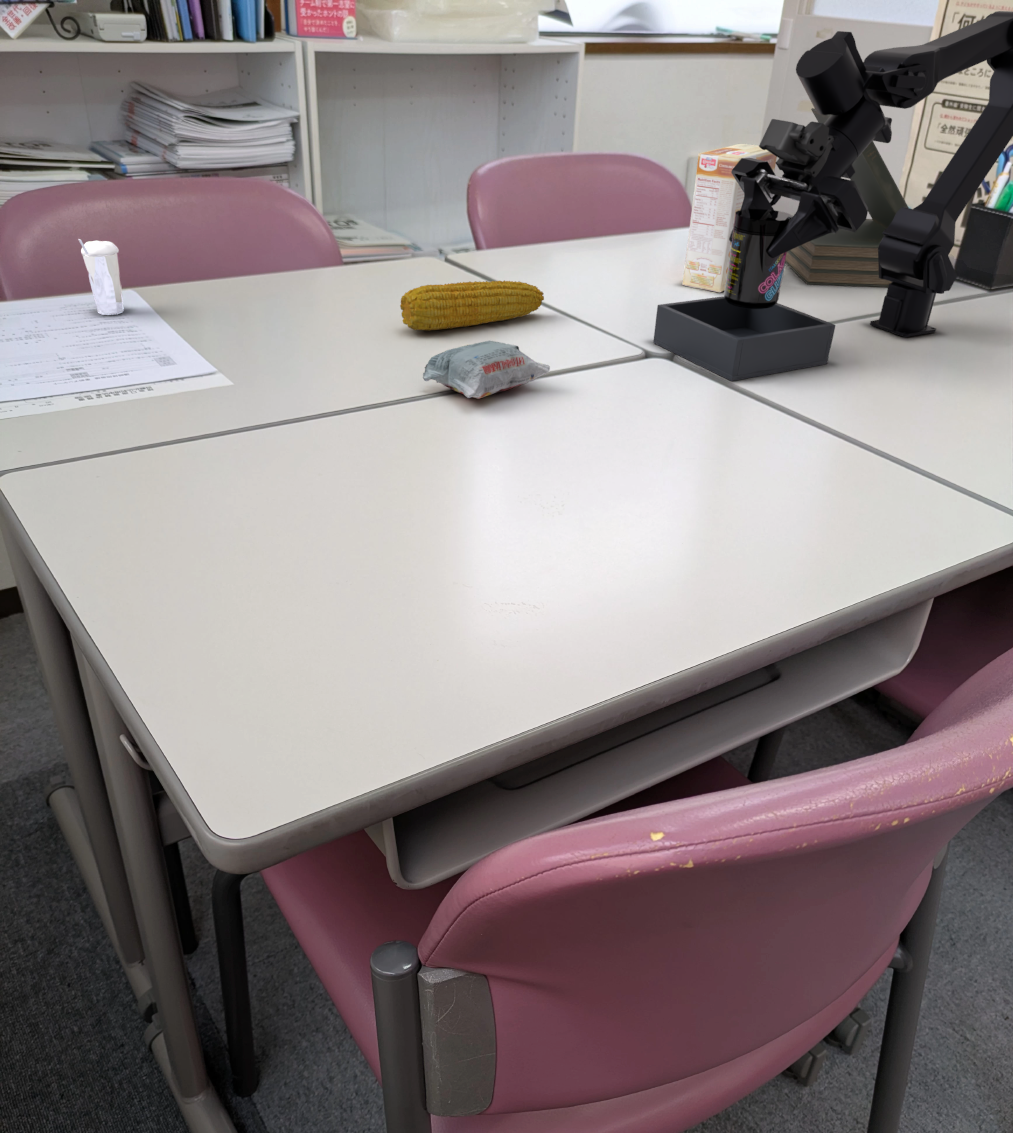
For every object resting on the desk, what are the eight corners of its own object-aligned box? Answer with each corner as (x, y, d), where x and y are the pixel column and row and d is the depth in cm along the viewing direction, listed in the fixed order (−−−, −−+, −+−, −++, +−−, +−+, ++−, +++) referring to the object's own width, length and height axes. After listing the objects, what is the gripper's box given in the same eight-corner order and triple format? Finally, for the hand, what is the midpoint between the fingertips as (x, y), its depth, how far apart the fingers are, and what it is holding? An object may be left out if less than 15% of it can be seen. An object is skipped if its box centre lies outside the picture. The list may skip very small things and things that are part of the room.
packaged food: (548, 389, 107) (550, 347, 105) (468, 413, 100) (468, 368, 98) (498, 369, 113) (498, 329, 110) (418, 391, 106) (417, 348, 103)
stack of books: (927, 288, 152) (971, 118, 139) (806, 284, 152) (839, 113, 139) (880, 255, 172) (916, 103, 159) (773, 251, 172) (800, 98, 159)
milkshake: (80, 315, 125) (65, 237, 120) (109, 305, 129) (95, 229, 124) (108, 320, 123) (93, 241, 118) (136, 309, 128) (123, 233, 123)
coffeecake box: (719, 267, 160) (738, 142, 149) (759, 275, 156) (781, 147, 146) (679, 285, 149) (696, 151, 139) (721, 293, 146) (741, 156, 135)
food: (416, 340, 121) (415, 293, 118) (395, 328, 125) (394, 283, 122) (550, 318, 131) (552, 275, 128) (527, 308, 135) (529, 266, 132)
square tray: (744, 328, 130) (750, 292, 127) (827, 364, 118) (835, 324, 116) (652, 342, 123) (657, 304, 121) (731, 381, 112) (738, 340, 109)
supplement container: (748, 313, 113) (763, 222, 108) (711, 298, 118) (723, 211, 113) (789, 306, 116) (805, 217, 111) (751, 292, 121) (765, 206, 116)
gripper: (755, 84, 113) (670, 187, 115) (872, 100, 99) (774, 217, 101) (793, 152, 121) (713, 248, 122) (907, 176, 107) (815, 284, 108)
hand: (750, 248), depth 113 cm, fingers closed on supplement container, 7 cm apart
